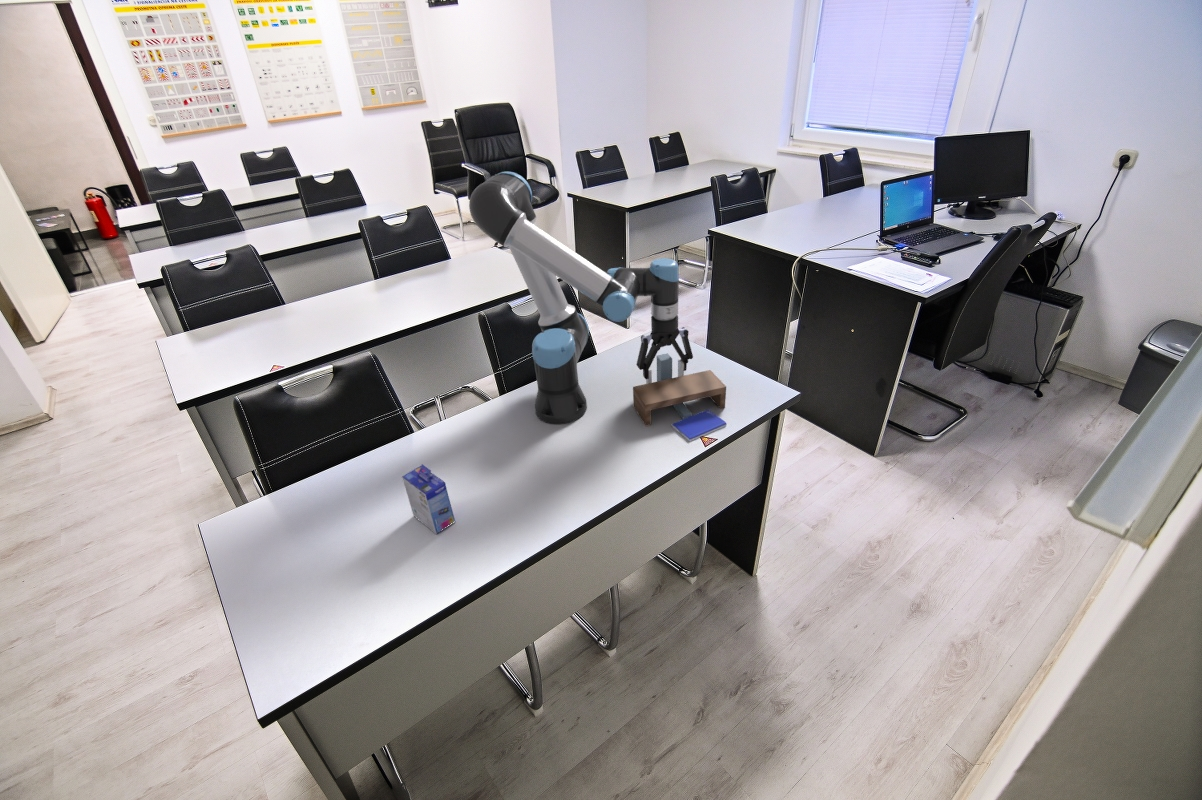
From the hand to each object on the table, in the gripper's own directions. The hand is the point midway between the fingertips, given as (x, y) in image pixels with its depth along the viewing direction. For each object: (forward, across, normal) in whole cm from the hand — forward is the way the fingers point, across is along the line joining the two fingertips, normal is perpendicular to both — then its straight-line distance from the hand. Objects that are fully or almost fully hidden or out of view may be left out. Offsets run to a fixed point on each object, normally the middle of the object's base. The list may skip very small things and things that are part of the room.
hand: (664, 383), depth 170 cm
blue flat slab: (+3, +2, -21) cm, 21 cm away
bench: (+2, 0, -10) cm, 11 cm away
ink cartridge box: (+2, -70, -32) cm, 77 cm away
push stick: (+2, 0, -7) cm, 8 cm away
